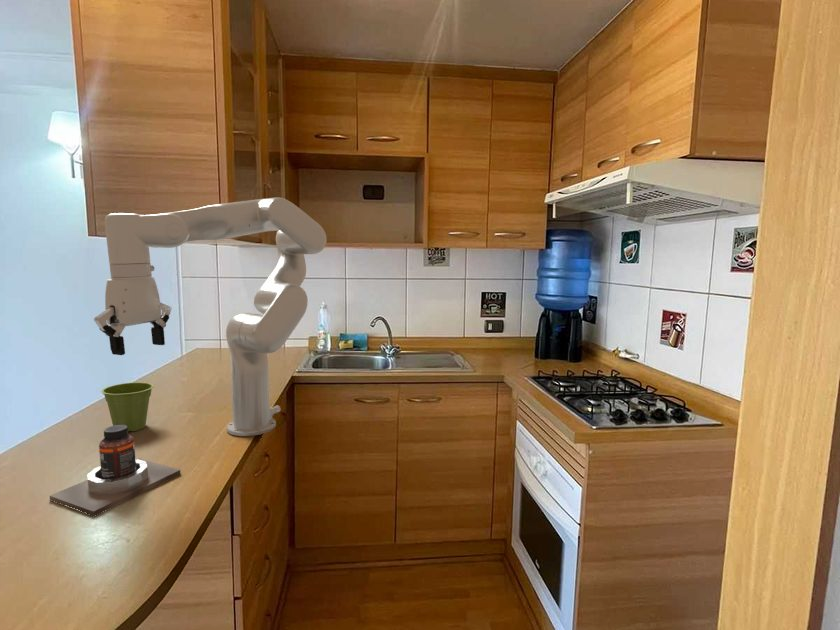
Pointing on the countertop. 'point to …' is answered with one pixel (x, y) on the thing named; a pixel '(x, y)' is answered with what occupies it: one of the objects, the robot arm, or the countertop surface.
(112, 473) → the supplement bottle
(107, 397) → the plant pot
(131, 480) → the steel collar
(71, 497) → the holder board
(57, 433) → the countertop surface
